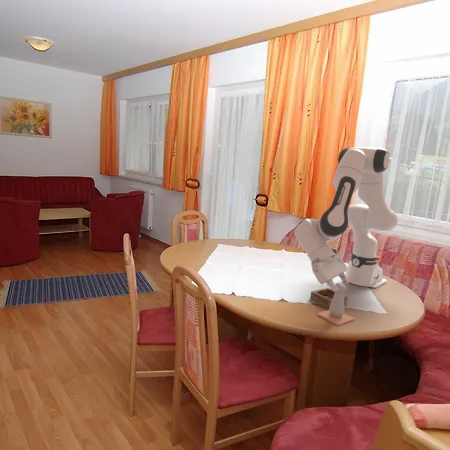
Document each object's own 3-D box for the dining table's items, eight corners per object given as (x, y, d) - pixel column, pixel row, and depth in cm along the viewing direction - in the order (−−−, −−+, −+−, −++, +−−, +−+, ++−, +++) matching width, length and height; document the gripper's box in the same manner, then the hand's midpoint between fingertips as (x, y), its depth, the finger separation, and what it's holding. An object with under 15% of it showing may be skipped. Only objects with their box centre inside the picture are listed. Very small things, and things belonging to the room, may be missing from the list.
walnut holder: (326, 295, 169) (327, 287, 168) (346, 304, 160) (347, 296, 160) (310, 299, 162) (311, 291, 162) (329, 308, 154) (331, 300, 153)
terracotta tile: (333, 310, 153) (333, 308, 153) (354, 320, 145) (354, 318, 145) (317, 315, 147) (317, 313, 147) (338, 325, 139) (338, 323, 139)
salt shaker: (332, 311, 150) (336, 280, 147) (345, 315, 147) (350, 284, 144) (325, 315, 146) (330, 283, 143) (339, 320, 142) (344, 288, 139)
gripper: (315, 257, 137) (337, 290, 133) (338, 248, 153) (358, 277, 149) (303, 266, 141) (324, 298, 137) (326, 256, 157) (345, 285, 153)
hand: (342, 287), depth 143 cm, fingers open, 8 cm apart
